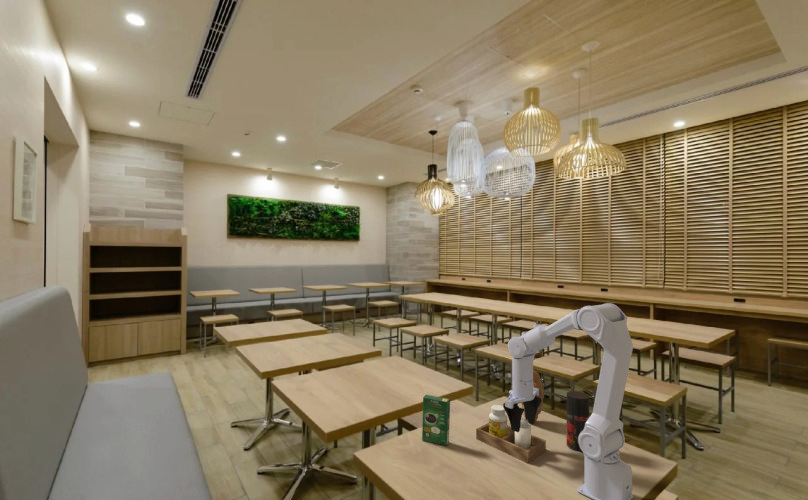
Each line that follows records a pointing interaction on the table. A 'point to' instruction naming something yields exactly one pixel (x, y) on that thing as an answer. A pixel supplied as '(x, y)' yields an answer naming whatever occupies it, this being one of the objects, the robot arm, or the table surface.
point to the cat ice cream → (539, 386)
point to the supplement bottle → (498, 421)
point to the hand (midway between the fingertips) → (522, 426)
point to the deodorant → (576, 417)
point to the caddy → (511, 443)
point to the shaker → (523, 435)
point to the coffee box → (436, 419)
